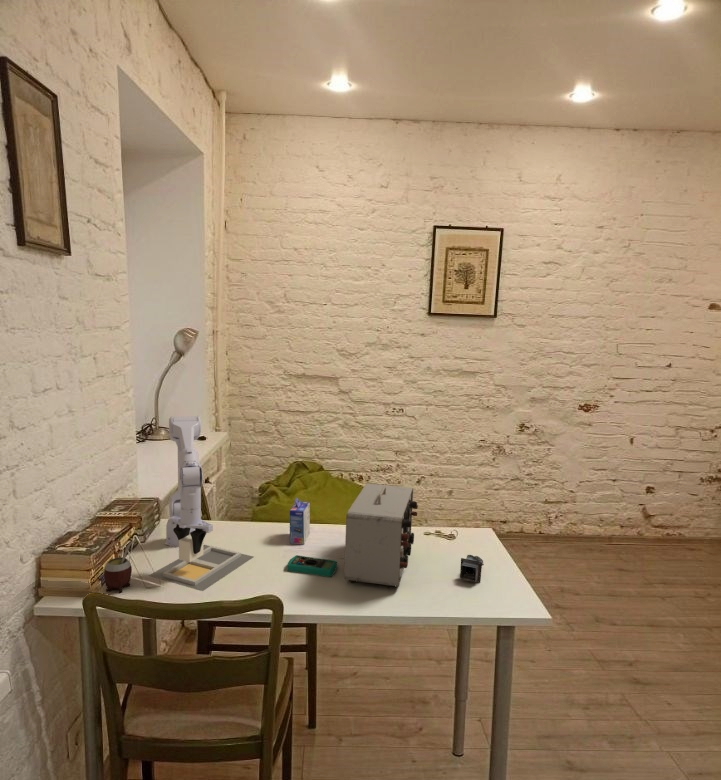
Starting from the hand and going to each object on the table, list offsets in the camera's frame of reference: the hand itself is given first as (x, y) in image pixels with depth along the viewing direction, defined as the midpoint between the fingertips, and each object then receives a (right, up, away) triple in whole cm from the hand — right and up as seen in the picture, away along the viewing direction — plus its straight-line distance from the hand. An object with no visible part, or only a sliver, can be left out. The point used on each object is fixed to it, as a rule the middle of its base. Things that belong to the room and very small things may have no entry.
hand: (190, 550), depth 158 cm
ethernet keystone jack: (+85, -10, +7) cm, 86 cm away
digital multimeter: (+35, -9, +8) cm, 37 cm away
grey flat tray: (+2, -7, +6) cm, 9 cm away
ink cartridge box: (+29, -5, +31) cm, 42 cm away
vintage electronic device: (+58, -9, +12) cm, 59 cm away
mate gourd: (-17, -8, -8) cm, 21 cm away
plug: (0, -2, 0) cm, 2 cm away
